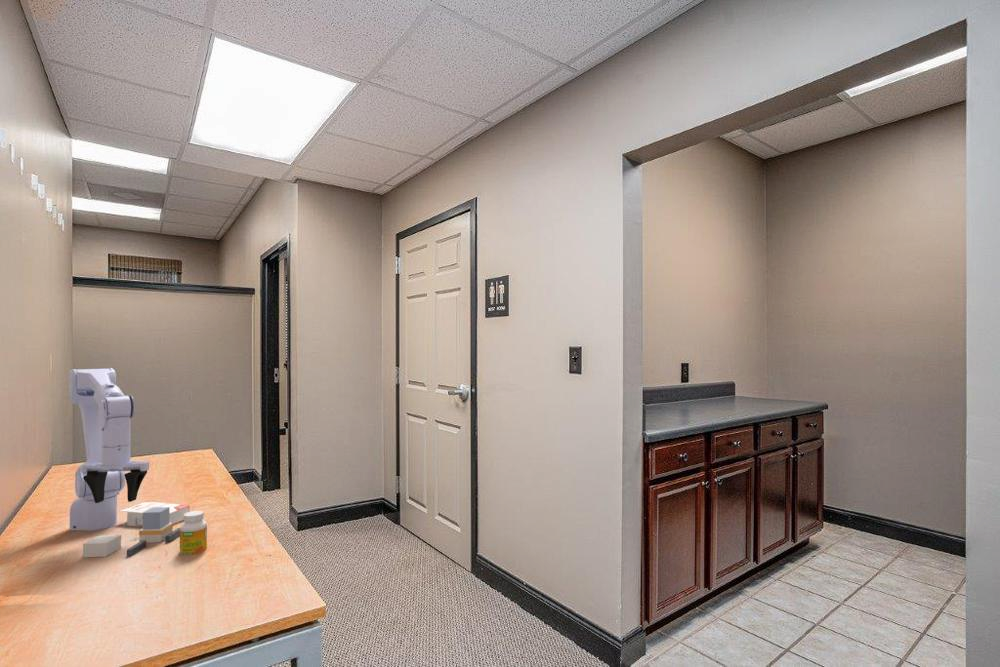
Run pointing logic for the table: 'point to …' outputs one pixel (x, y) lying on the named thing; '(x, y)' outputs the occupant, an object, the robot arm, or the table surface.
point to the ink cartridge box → (137, 513)
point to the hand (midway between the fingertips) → (115, 501)
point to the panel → (142, 544)
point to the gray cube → (156, 518)
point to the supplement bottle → (193, 533)
